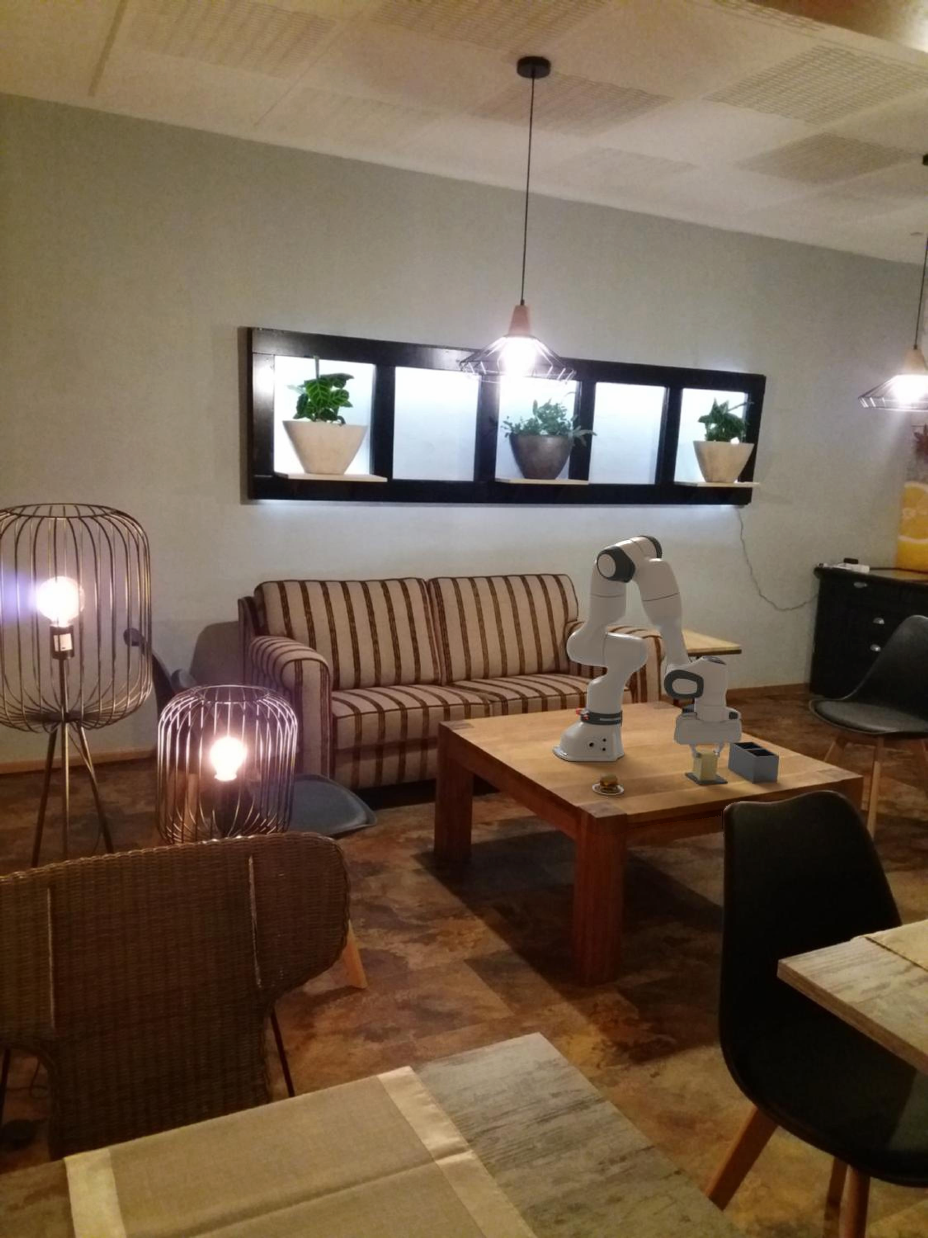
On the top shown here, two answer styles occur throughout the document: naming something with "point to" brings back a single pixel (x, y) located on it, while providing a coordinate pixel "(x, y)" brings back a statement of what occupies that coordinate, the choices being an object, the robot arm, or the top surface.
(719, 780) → the mat
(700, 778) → the cream tapered block
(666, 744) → the top surface
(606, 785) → the hamburger
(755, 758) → the divided storage bin
